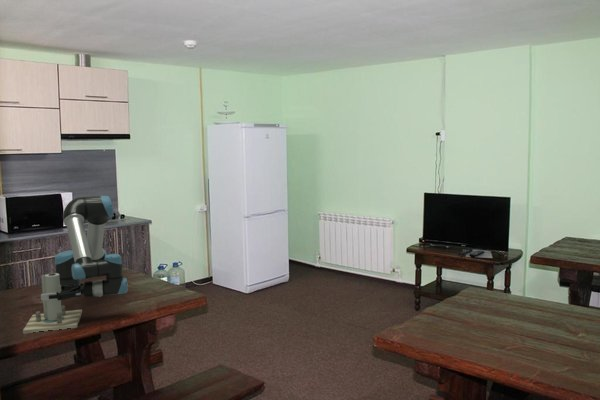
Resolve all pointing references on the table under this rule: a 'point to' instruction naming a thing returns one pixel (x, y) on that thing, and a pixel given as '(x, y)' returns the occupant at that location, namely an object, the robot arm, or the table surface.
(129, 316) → the table surface
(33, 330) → the plate
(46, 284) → the paper towel roll
